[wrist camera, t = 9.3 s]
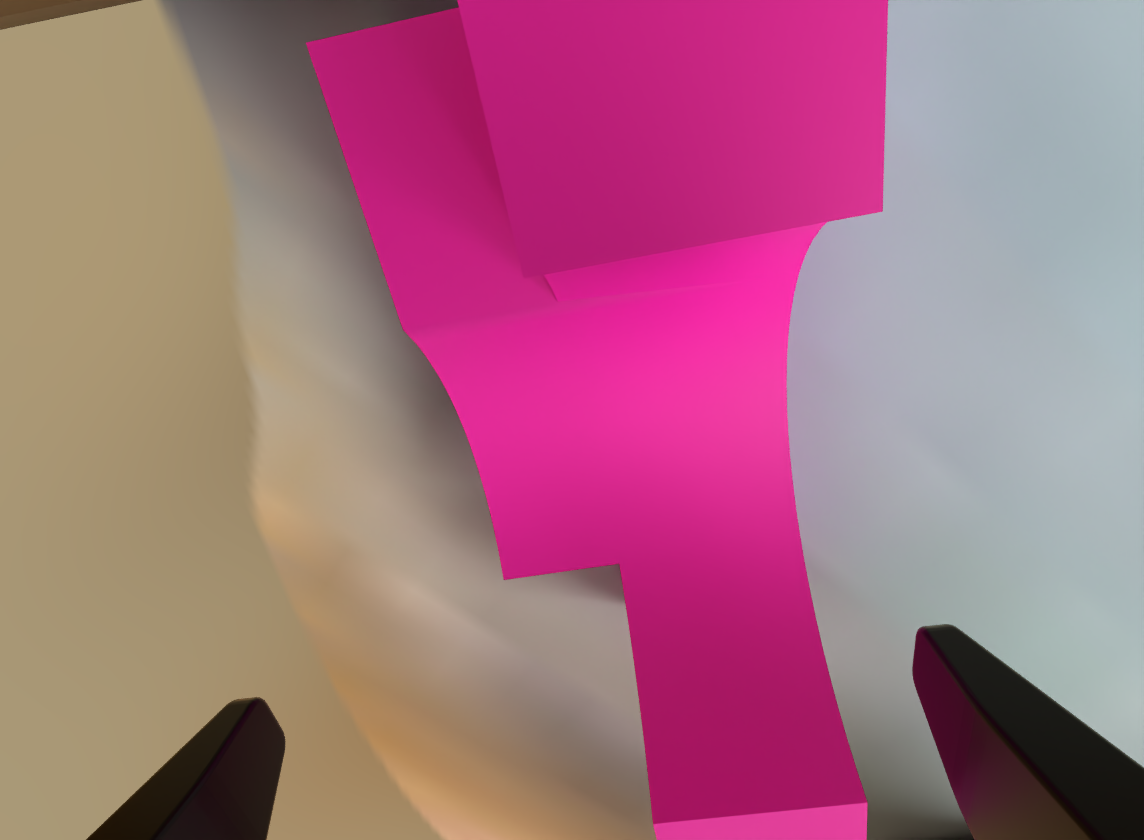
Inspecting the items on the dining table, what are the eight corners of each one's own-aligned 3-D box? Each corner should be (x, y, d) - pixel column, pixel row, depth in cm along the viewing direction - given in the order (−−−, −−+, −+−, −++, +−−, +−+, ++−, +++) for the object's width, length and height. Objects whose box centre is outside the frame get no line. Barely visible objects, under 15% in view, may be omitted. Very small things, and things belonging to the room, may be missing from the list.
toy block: (388, 35, 13) (194, 53, 6) (727, -42, 12) (891, -111, 6) (554, 613, 20) (541, 894, 14) (771, 584, 20) (865, 865, 13)
